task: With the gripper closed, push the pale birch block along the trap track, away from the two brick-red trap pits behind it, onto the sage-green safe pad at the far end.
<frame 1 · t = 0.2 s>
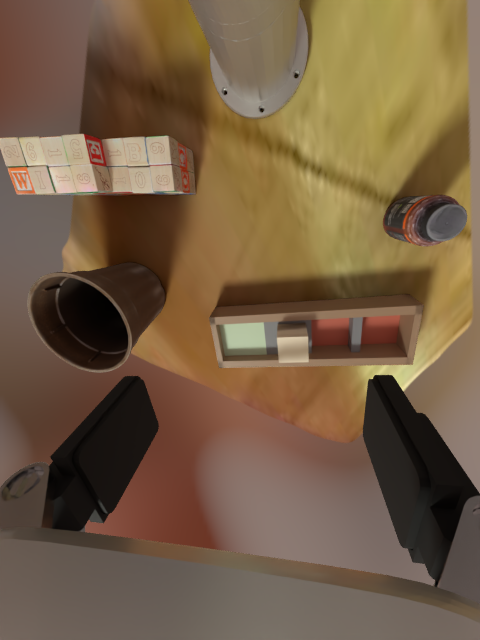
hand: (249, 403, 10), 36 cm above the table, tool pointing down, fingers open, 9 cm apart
trap track: (299, 327, 48), on the table
birch block: (291, 335, 46), point 3 cm above the table, touching trap track
plant pot: (137, 291, 51), on the table
supplement bottle: (402, 217, 38), on the table
stack of blocks: (134, 174, 41), on the table
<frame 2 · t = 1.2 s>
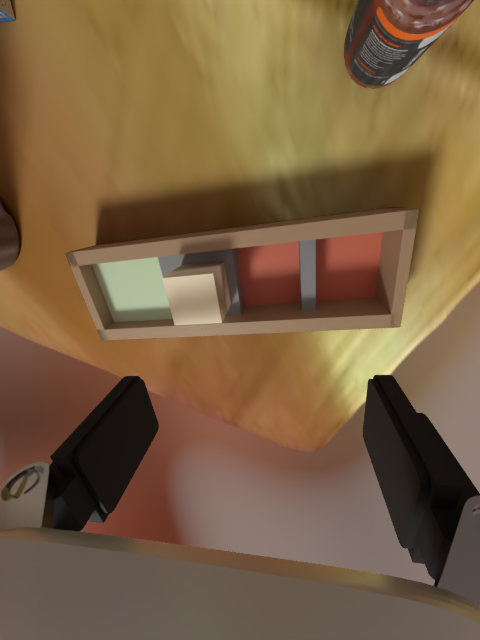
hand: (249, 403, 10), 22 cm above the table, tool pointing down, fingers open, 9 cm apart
trap track: (224, 276, 31), on the table
birch block: (206, 284, 28), point 3 cm above the table, touching trap track
supplement bottle: (380, 44, 20), on the table
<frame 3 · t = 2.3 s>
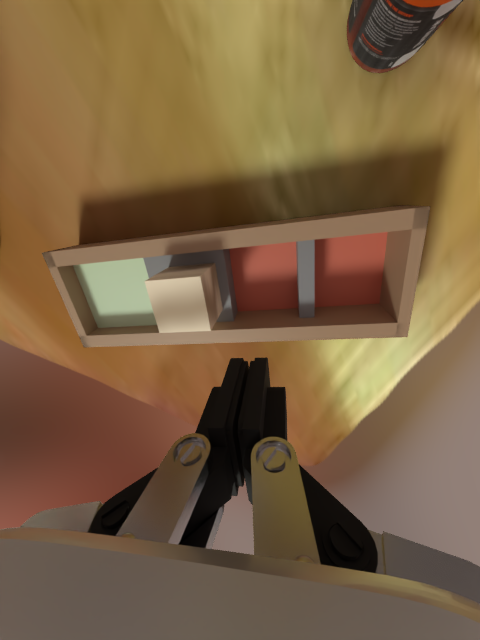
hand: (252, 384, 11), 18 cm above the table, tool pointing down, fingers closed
trap track: (216, 279, 28), on the table
birch block: (196, 288, 26), point 3 cm above the table, touching trap track
supplement bottle: (386, 24, 18), on the table
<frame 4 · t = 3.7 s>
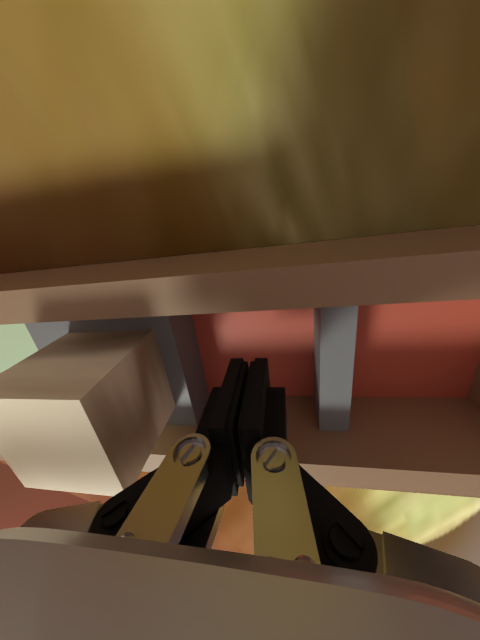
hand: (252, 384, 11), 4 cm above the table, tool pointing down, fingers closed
trap track: (170, 343, 16), on the table
birch block: (124, 370, 14), point 3 cm above the table, touching trap track
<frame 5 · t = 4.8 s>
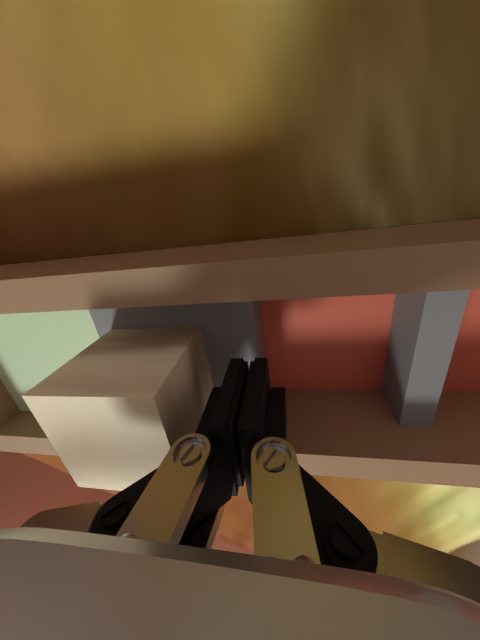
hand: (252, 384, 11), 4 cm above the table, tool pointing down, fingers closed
trap track: (230, 334, 16), on the table
birch block: (166, 368, 14), point 3 cm above the table, touching gripper
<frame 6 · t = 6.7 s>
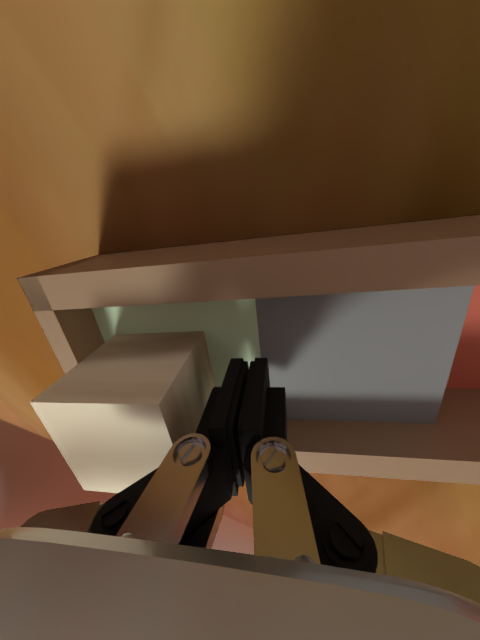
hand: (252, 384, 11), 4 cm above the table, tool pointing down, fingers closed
trap track: (380, 327, 14), on the table
birch block: (169, 372, 14), point 3 cm above the table, touching gripper
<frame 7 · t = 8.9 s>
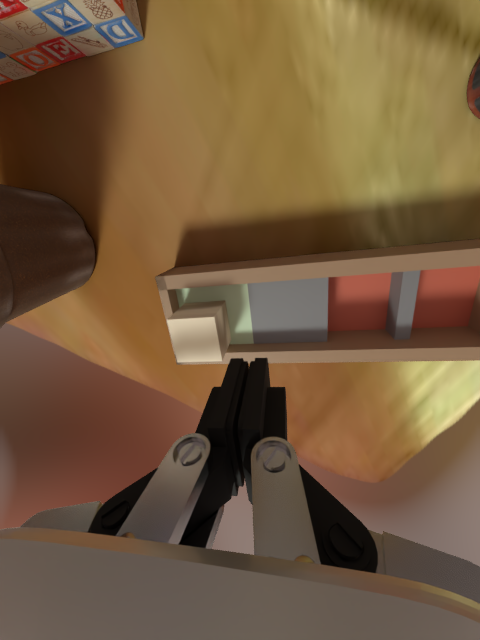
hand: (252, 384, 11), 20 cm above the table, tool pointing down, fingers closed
trap track: (306, 301, 30), on the table
birch block: (208, 321, 30), point 3 cm above the table, touching trap track
plant pot: (54, 243, 33), on the table
stack of blocks: (39, 29, 24), on the table
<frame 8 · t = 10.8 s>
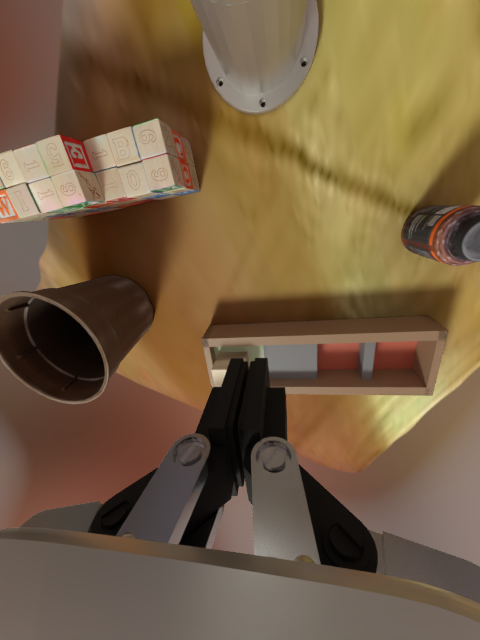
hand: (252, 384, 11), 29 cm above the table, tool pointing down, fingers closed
trap track: (303, 349, 43), on the table
birch block: (234, 364, 43), point 3 cm above the table, touching trap track
plant pot: (122, 306, 45), on the table
supplement bottle: (423, 230, 33), on the table
stack of blocks: (128, 182, 36), on the table
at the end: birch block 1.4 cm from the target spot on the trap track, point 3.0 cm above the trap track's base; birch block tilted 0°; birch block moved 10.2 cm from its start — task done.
